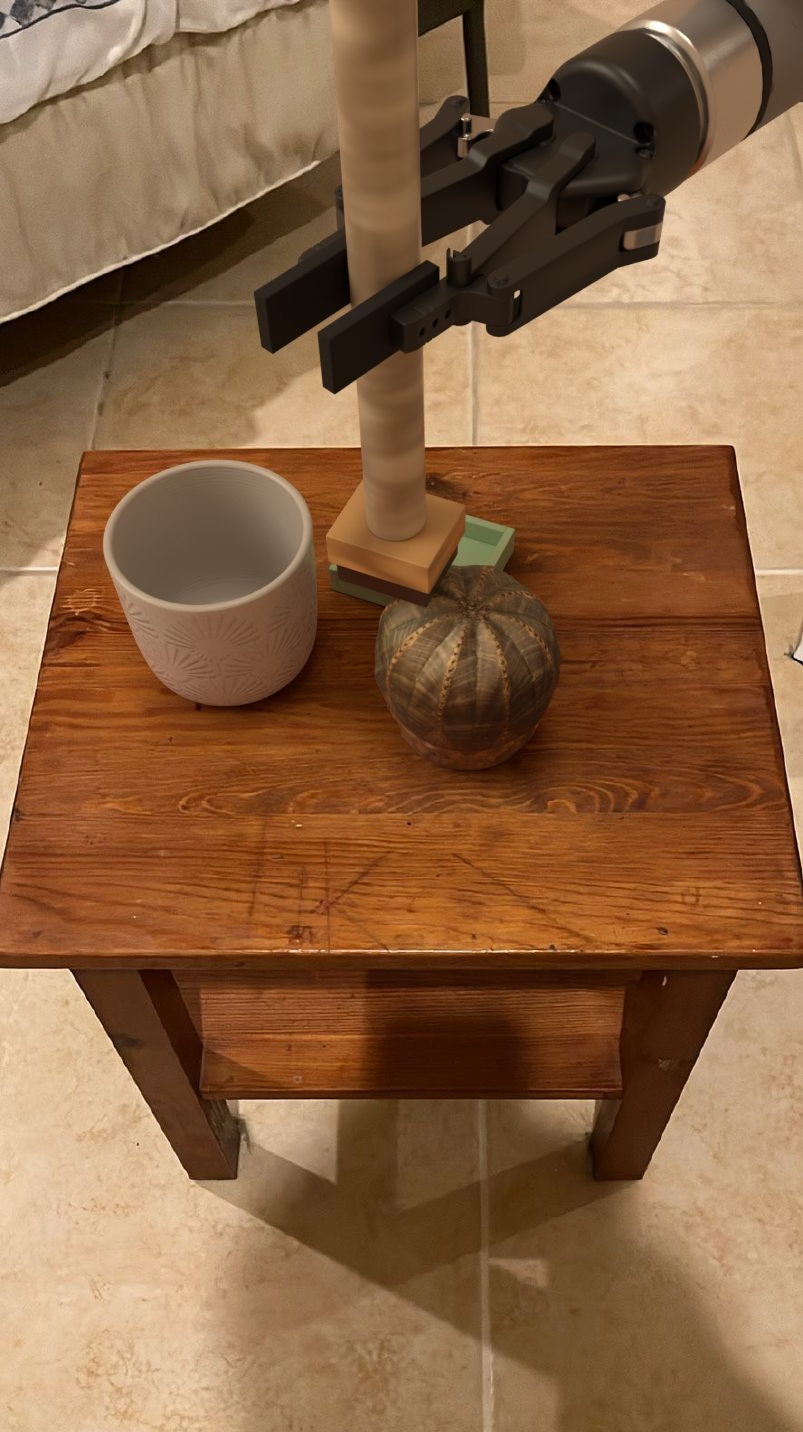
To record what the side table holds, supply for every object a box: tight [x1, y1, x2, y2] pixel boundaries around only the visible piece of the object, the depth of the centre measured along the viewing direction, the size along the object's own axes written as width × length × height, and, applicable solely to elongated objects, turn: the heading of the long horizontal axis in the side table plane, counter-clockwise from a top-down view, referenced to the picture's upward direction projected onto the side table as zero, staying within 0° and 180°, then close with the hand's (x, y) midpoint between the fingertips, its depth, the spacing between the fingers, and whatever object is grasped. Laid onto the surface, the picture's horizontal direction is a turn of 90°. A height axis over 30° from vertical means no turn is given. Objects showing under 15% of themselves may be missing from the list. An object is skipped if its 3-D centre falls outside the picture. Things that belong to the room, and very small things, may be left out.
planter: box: [102, 459, 319, 707], centre depth 80 cm, size 12×12×11 cm
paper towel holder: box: [325, 0, 467, 608], centre depth 59 cm, size 6×5×30 cm
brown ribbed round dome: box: [373, 565, 562, 771], centre depth 76 cm, size 11×11×12 cm
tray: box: [328, 514, 516, 607], centre depth 88 cm, size 10×8×2 cm
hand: (295, 343), depth 55 cm, fingers closed on paper towel holder, 3 cm apart
